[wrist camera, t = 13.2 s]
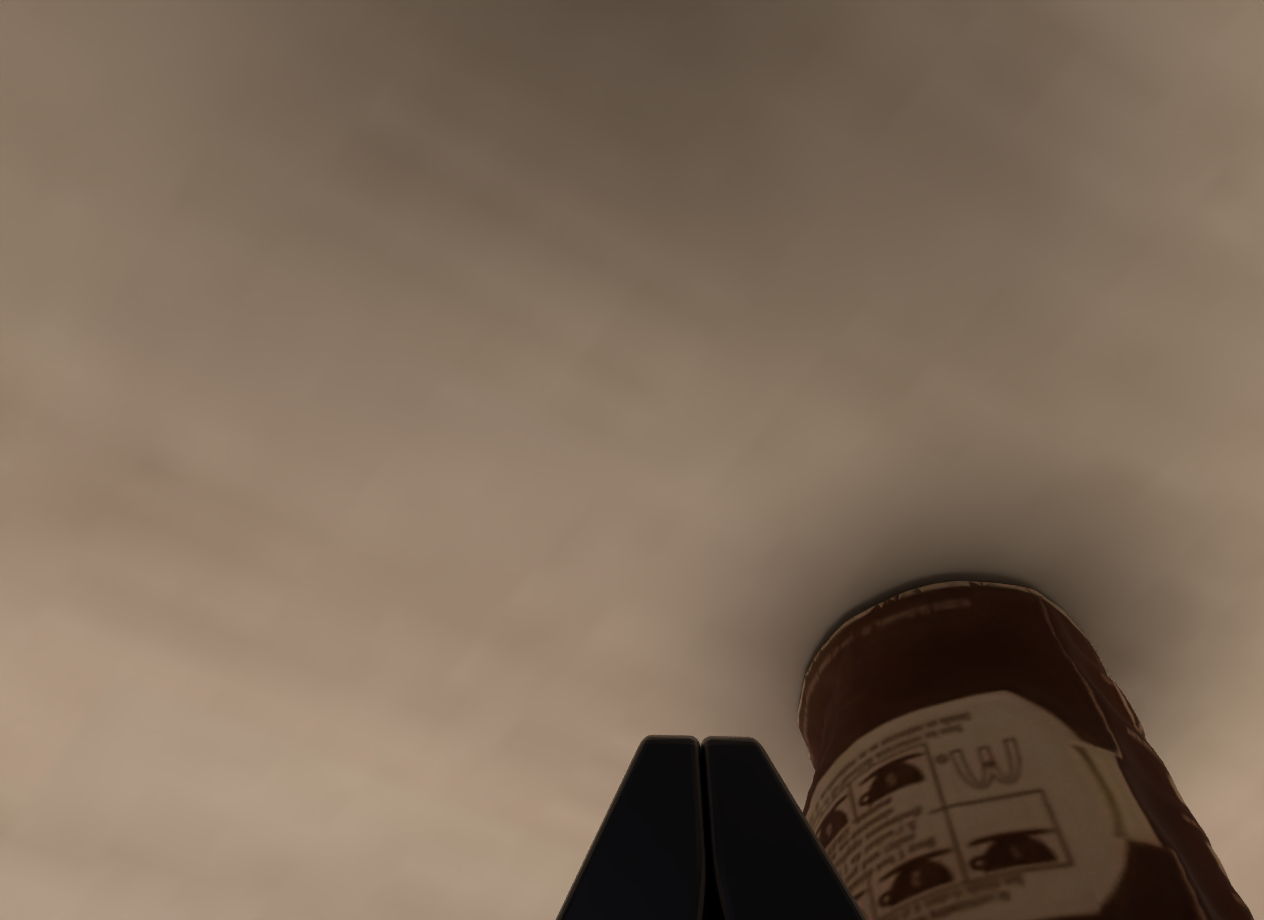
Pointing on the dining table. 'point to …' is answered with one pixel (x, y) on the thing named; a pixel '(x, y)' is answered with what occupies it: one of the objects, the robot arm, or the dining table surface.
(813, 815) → the coffee cup
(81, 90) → the dining table surface
